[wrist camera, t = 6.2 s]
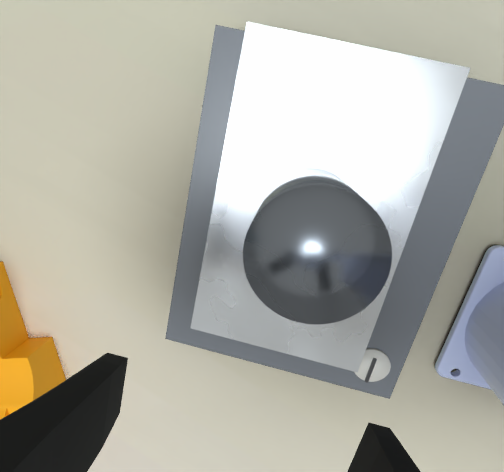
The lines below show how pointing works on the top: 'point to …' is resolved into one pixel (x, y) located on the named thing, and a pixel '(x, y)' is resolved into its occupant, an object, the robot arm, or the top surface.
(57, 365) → the pipe clamp
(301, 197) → the cylinder
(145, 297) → the top surface
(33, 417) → the robot arm
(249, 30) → the pan
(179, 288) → the base
